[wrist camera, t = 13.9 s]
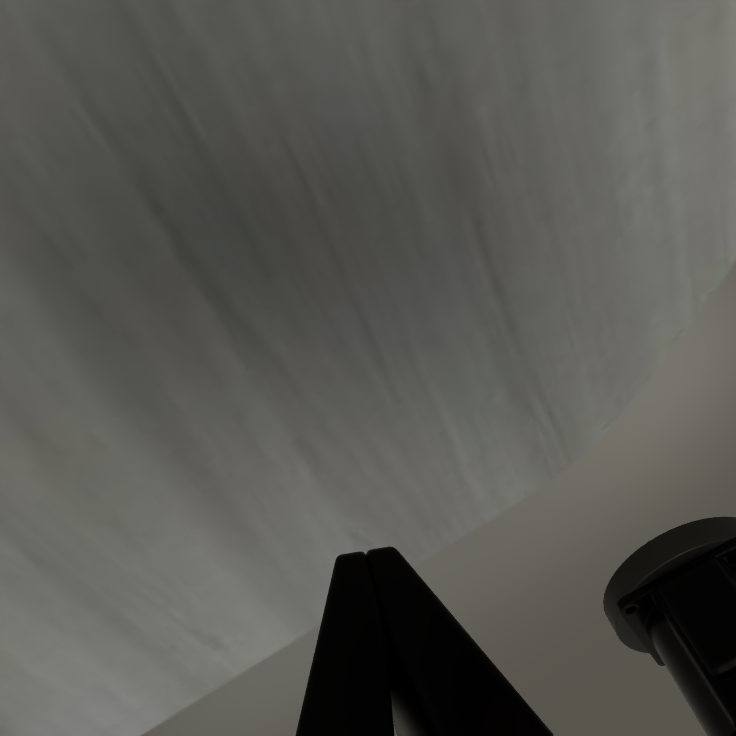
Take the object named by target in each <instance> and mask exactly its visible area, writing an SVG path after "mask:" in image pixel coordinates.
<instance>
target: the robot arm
mask: <svg viewBox="0 0 736 736" xmlns="http://www.w3.org/2000/svg"><path fill="white" fill-rule="evenodd" d="M616 607H617V609H618V610H619V612H620V614H621V615H622V617H623V618H624V619H625V621H626V622H627V623H628V625H629V626H630V627H631V629H632V630H633V631H634V633H635V634H636V635H637V637H638V638H639V639H640V641H641V642H642V643H643V645H644V646H645V647H646V649H647V650H648V651H649V653H650V654H651V655H652V657H653V658H654V659H655V661H656V662H657V663H658V665H660V666H666V667H667V669H668V671H669V672H670V674H671V675H672V677H673V679H674V681H675V682H676V684H677V685H678V687H679V689H680V690H681V692H682V694H683V696H684V697H685V699H686V701H687V702H688V704H689V706H690V707H691V709H692V711H693V712H694V714H695V716H696V718H697V719H698V721H699V723H700V724H701V726H702V728H703V729H704V731H705V733H706V734H707V736H736V537H734V538H732V539H731V540H729V541H727V542H725V543H723V544H721V545H719V546H717V547H716V548H714V549H712V550H710V551H708V552H706V553H704V554H702V555H701V556H699V557H697V558H695V559H693V560H691V561H689V562H687V563H686V564H684V565H682V566H680V567H678V568H676V569H674V570H673V571H671V572H669V573H667V574H665V575H663V576H661V577H659V578H658V579H656V580H654V581H652V582H650V583H648V584H646V585H644V586H643V587H641V588H639V589H637V590H635V591H633V592H631V593H629V594H628V595H626V596H624V597H622V598H621V599H619V601H618V602H617V604H616ZM393 723H394V724H393ZM394 726H395V729H396V733H397V736H553V733H552V732H551V731H550V730H549V729H548V728H547V726H546V725H545V724H544V723H543V722H542V721H541V719H540V718H539V717H538V716H537V715H536V713H535V712H534V711H533V710H532V709H531V708H530V706H529V705H528V704H527V703H526V702H525V700H524V699H523V698H522V697H521V696H520V695H519V693H518V692H517V691H516V690H515V689H514V687H513V686H512V685H511V684H510V683H509V681H508V680H507V679H506V678H505V677H504V676H503V674H502V673H501V672H500V671H499V670H498V668H497V667H496V666H495V665H494V664H493V663H492V661H491V660H490V659H489V658H488V657H487V655H486V654H485V653H484V652H483V651H482V650H481V648H480V647H479V646H478V645H477V644H476V642H475V641H474V640H473V639H472V638H471V637H470V635H469V634H468V633H467V632H466V631H465V629H464V628H463V627H462V626H461V625H460V623H459V622H458V621H457V620H456V619H455V618H454V616H453V615H452V614H451V613H450V612H449V610H448V609H447V608H446V607H445V606H444V605H443V604H442V602H441V601H440V600H439V599H438V597H437V596H436V595H435V594H434V593H433V592H432V590H431V589H430V588H429V587H428V586H427V585H426V583H425V582H424V581H423V580H422V579H421V577H420V576H419V575H418V574H417V573H416V571H415V570H414V569H413V568H412V567H411V566H410V564H409V563H408V562H407V561H406V560H405V558H404V557H403V556H402V555H401V554H400V553H399V551H398V550H397V549H395V548H394V547H383V548H378V549H372V550H369V551H368V552H367V553H366V554H365V553H364V552H354V553H348V554H342V555H339V556H338V557H337V558H336V561H335V565H334V569H333V574H332V578H331V583H330V587H329V591H328V596H327V600H326V605H325V609H324V613H323V618H322V622H321V626H320V631H319V635H318V640H317V645H316V648H315V653H314V657H313V662H312V666H311V670H310V675H309V679H308V684H307V688H306V692H305V697H304V701H303V706H302V710H301V715H300V719H299V723H298V728H297V732H296V736H394Z"/></svg>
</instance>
